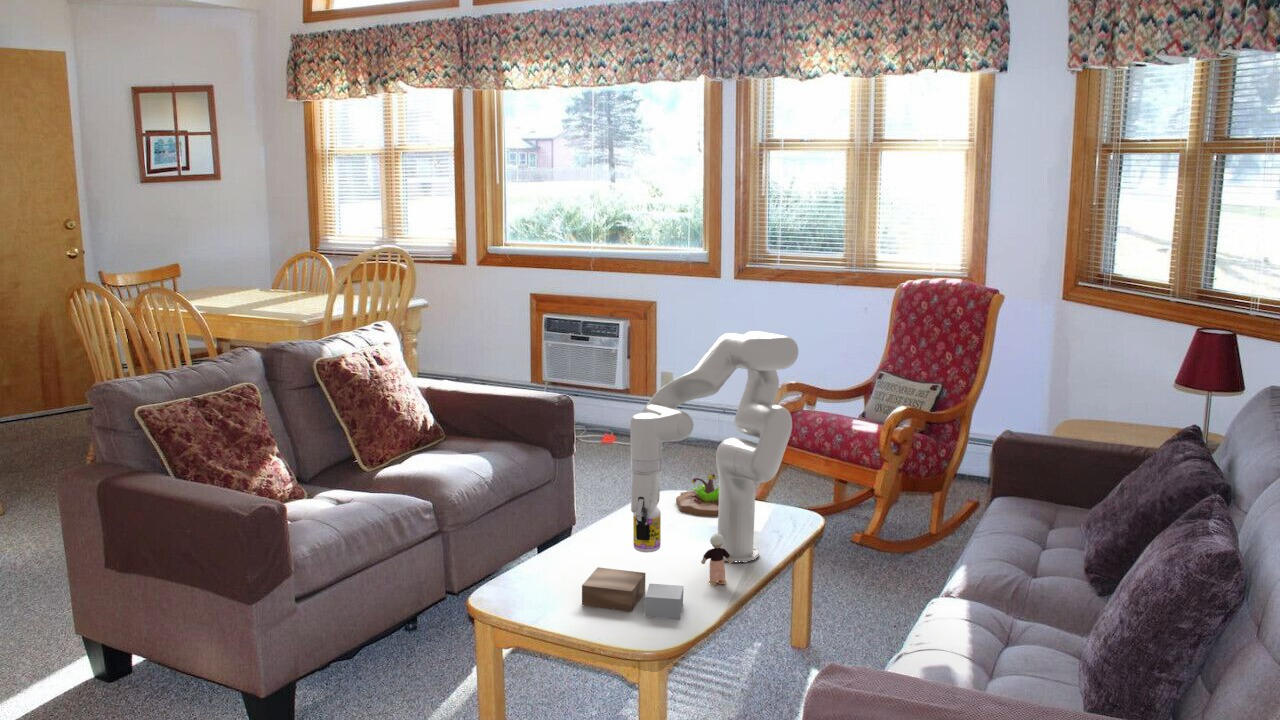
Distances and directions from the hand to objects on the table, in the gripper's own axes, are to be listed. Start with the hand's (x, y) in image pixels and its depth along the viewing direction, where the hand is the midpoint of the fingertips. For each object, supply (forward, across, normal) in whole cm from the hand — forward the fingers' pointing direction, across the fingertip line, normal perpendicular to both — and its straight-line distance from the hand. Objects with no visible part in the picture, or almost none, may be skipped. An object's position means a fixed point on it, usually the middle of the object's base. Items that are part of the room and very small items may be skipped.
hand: (647, 533), depth 260 cm
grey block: (+12, +16, +8) cm, 22 cm away
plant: (+15, -64, +2) cm, 66 cm away
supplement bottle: (+4, 0, 0) cm, 4 cm away
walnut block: (+12, +13, -5) cm, 18 cm away
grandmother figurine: (+13, -4, +16) cm, 21 cm away
